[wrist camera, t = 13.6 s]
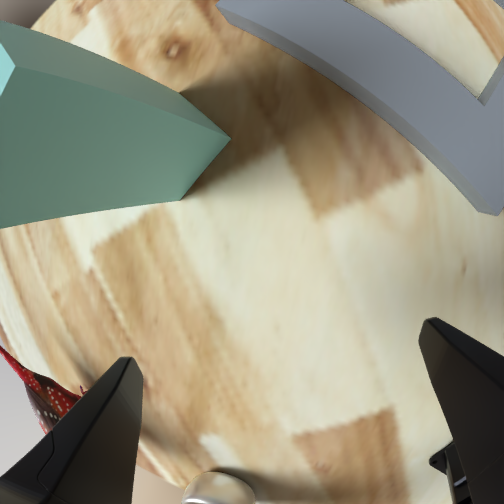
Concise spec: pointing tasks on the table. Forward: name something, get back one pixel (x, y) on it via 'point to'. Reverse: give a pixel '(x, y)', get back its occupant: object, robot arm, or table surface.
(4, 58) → the teal peg
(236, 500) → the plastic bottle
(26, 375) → the decorative bird figurine
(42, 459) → the robot arm
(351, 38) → the collar board
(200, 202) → the table surface
